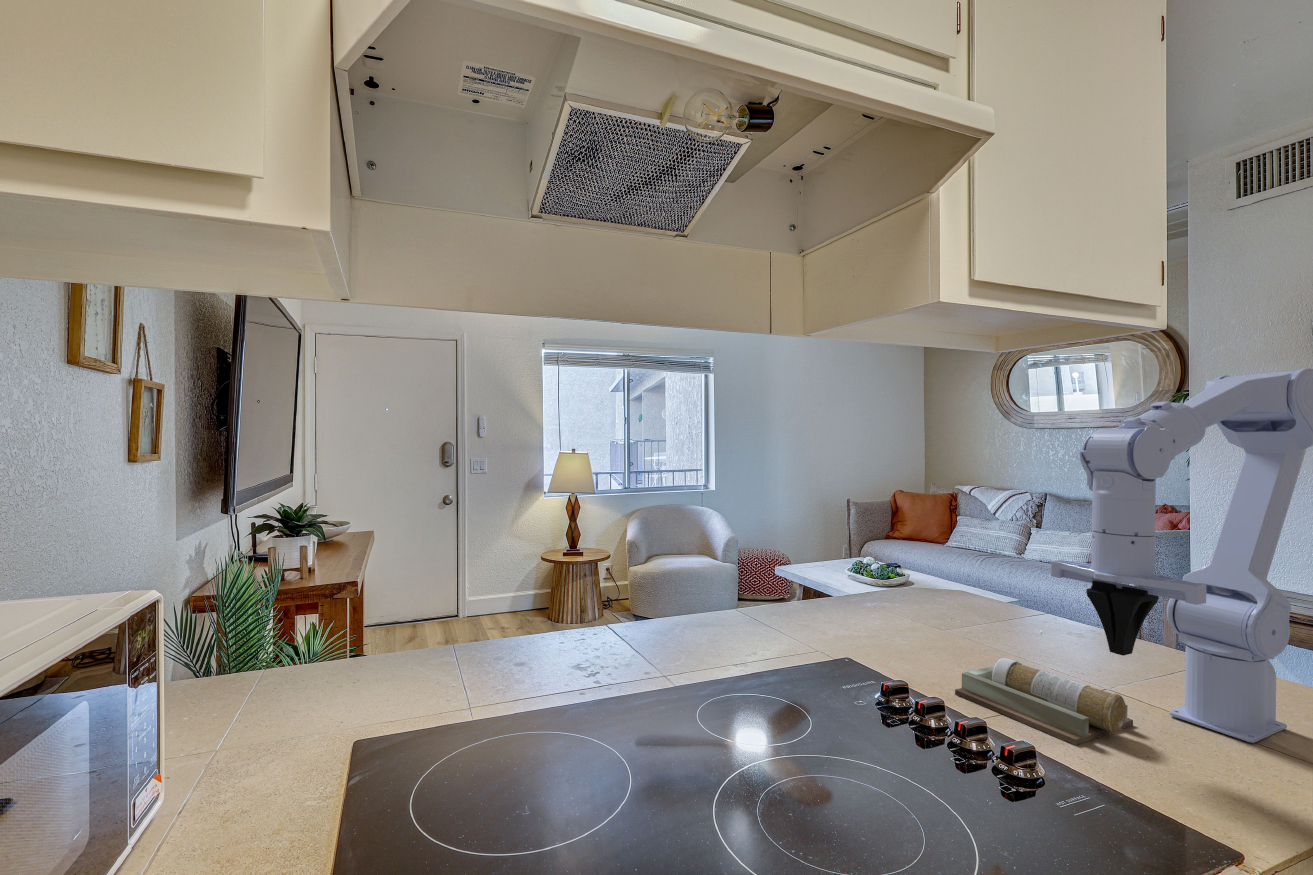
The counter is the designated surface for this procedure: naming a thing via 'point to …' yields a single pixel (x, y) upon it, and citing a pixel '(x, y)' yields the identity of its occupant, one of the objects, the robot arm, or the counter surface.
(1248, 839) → the counter surface
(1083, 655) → the counter surface
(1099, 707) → the sprinkles bottle
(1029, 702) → the bottle rest
